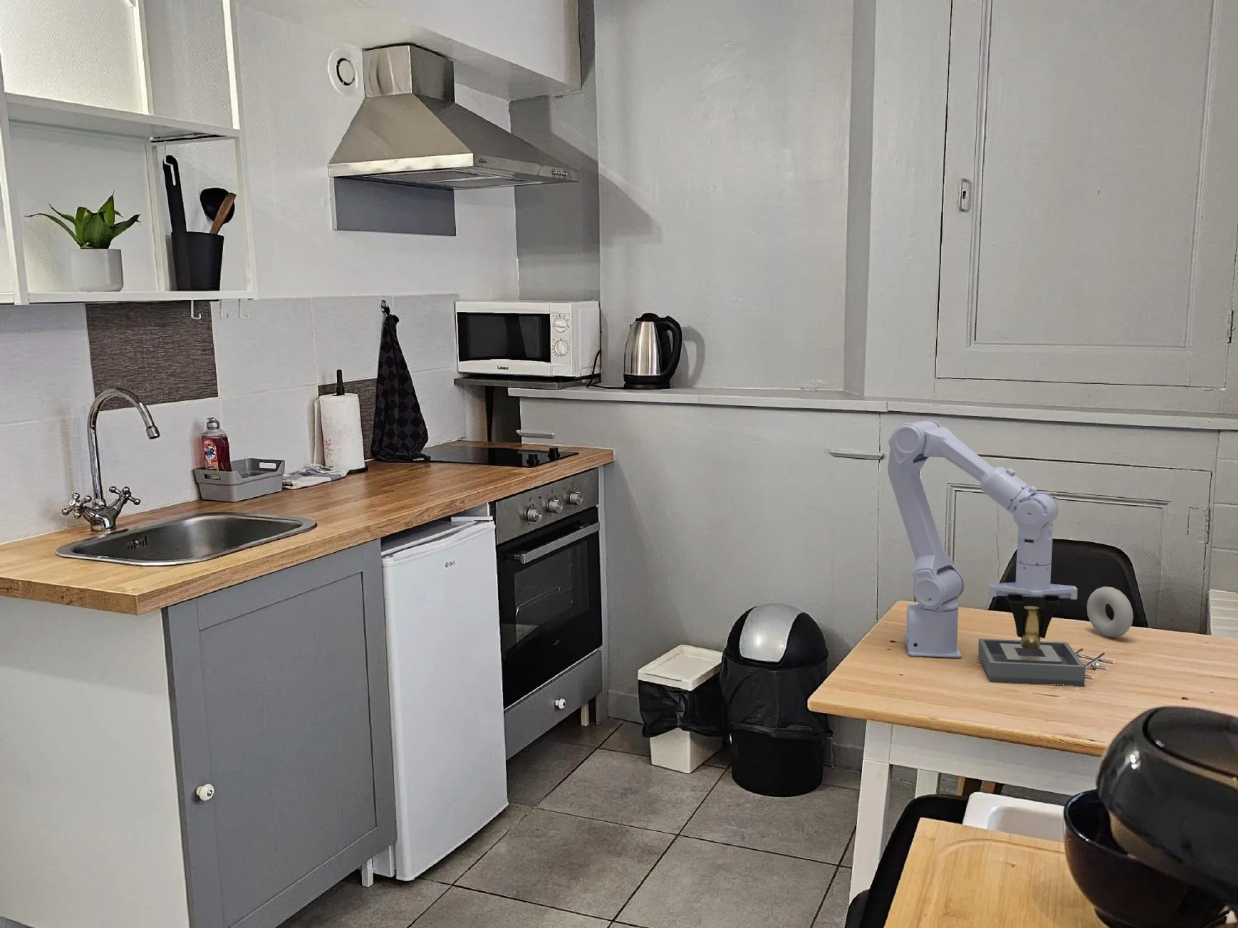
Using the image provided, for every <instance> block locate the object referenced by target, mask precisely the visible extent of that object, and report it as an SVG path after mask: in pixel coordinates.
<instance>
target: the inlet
mask: <svg viewBox="0 0 1238 928" xmlns="http://www.w3.org/2000/svg"><path fill="white" fill-rule="evenodd" d="M999 658H1000V660H1001V662H1019V663H1041V664H1062V661H1061V659H1060V658H1059V656H1058V655H1057V653H1056V652H1055V650H1054V649H1053V647H1052V646H1051V645H1040V648H1039V649H1026V648H1023V647H1021V644H1005V643H999Z"/></svg>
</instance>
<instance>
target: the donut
mask: <svg viewBox="0 0 1238 928" xmlns="http://www.w3.org/2000/svg"><path fill="white" fill-rule="evenodd" d="M1086 604H1087V605H1086V611H1087V617H1088V619H1089V620H1088V621H1089V622H1090V624H1091V625H1092V627H1093V628H1094V630H1095V631H1097V633H1100V634H1101V635H1102V636H1105V637H1108V638H1119V637H1121V636H1124V635H1125V634H1126V633H1127V632H1129V631H1130V629H1131V627H1132V625H1133V621H1134V620H1133V619H1134V612H1133V608H1132V604H1131V602H1130V600H1129V599H1128V597H1127V596H1126V595H1125V594H1124V593H1123V592H1122V591H1121V590H1119V589H1118V588H1117V589H1116V588H1115V587H1113V586H1112V587H1111V586H1102V587H1099V588H1096V589H1095V590H1094V591H1093V592H1092V593H1090V596H1089V597H1088V599H1087V602H1086ZM1107 605H1109V606H1110V607H1111V609H1112V610H1113V618H1112V619H1110V618H1109V617H1108V616H1107V613H1106V606H1107Z"/></svg>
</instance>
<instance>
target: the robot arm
mask: <svg viewBox="0 0 1238 928" xmlns="http://www.w3.org/2000/svg"><path fill="white" fill-rule="evenodd" d="M887 442H888V445H889V454H888V455H889V457H888V464H887V475H888V478H889V481H890V484H891V486H892V487H891V488H892V490H893V493H894V497H895V499H896V502H897V505H898V506H897V507H898V509H899V512H900V515H901V519H902V522H903V525H904V528H905V531H906V534H907V537H908V541H909V544H910V547H911V549H912V554H913V556H914V559H915V560H914V563H913V568H912V570H911V571H912V572H911V575H912V578H913V586H912V587H913V588H912V593H913V597H914V599H915V600H916V602H917V603H916V604H908V605H907V607H906V628H905V629H906V631H905V633H904V634H905V636H904V638H905V640H904V641H905V645H906V649H907V654H908V655H909V656H913V657H914V656H915V657H917V656H918V657H933V658H934V657H938V658H954V659H955V658H956V659H957V658H958V659H960V658H962V653H961V651H960V648H959V647H958V629H959V627H958V625H959V597H960V596H961V595H962V594H963V592H964V591H965V586H966V582H965V579H964V577H963V575H962V573H961V572H960V571H959V570H958V569H957V568H956V566H955V563H954V560H953V559H952V558H951V557H950V556H949V554H948V553H947V554H946V552H945V551H944V548H943V546H942V545H943V544H942V543H941V539H940V535H939V533H938V530H937V526H936V523H935V520H934V517H933V514H932V510H931V507H930V505H929V501H928V499H927V495H926V492H925V489H924V486H923V484H922V483H923V482H922V480H921V476H920V472H921V470H922V468H923V466H924V465H925V463H926V461H927V460H928V459H929V458H944V459H946V460H947V461H949V462H951V463H952V464H953V465H955V466H956V467H958V468H959V469H961V470H962V471H964V472H965V473H967V474H968V475H969V476H971V477H972V478H974V479H975V480H977V481H979V482H980V485H981V490H982V493H984V494H985V495H986V496H988V497H989V498H990V499H992V500H993V501H994V502H996V503H997V504H998V505H999V506H1001V507H1002V508H1003V509H1005V510H1007V512H1008V513H1010V514H1012V518H1013V519H1014V522H1015V524H1016V525H1017V526H1018V527H1017V530H1018V531H1017V541H1016V542H1017V546H1016V566H1015V567H1016V571H1015V581H1014V582H1001V583H1000V582H998V583H992V582H991V583H989V584H988V586H989V587H988V595H989V596H990V597H997V596H998V597H1000V596H1001V597H1005V598H1006V601H1007V603H1008V605H1009V607H1010V610H1011V612H1012V616H1013V620H1014V624H1015V629H1016V630H1015V632H1016V636H1017V637H1018V638H1021V637H1023V613H1024V606H1025V602H1024V598H1026V597H1027V598H1028V597H1029V598H1039V608H1041V609H1042V614H1041V636H1040V639H1046V636H1047V633H1048V632H1047V631H1048V629H1049V625H1050V623H1051V621H1052V619H1053V617H1054V615H1055V613H1056V612H1057V610H1058V609H1060V608H1059V607H1060V605H1061V604H1060V603H1061V601H1060V599H1070V600H1078V588H1077V587H1076V586H1075V585H1066V584H1065V585H1064V584H1057V583H1056V584H1054V583H1051V576H1052V575H1051V574H1052V559H1053V557H1052V556H1053V555H1052V553H1053V529H1054V527H1053V522H1054V521H1055V520H1056V518H1057V517H1058V515H1059V505H1058V503H1057V501H1056V499H1054V498H1053V496H1052V495H1051V494H1050V493H1049V492H1046V491H1045V492H1044V491H1038V488H1037V487H1035V486H1034V485H1032V486H1030V485H1029V484H1028V483H1026V482H1025V481H1023V480H1022V479H1020V478H1019V477H1018V476H1017V475H1016V473H1017V471H1015V470H1014V469H1013V468H1011V467H1009V468H1005V467H1004V466H996V467H993V466H992V465H991V464H989V463H988V462H987V461H985V460H984V459H983V458H982V457H981V456H980V455H978V454H977V453H976V452H974V450H972V449H971V448H970V447H968V446H967V445H966V444H965V443H964V442H963V441H961V440H960V439H959V438H958V437H956V436H955V435H954V434H953V433H952V431H951V430H950V429H948V428H947V427H945V426H942V424H940V423H939V422H938V421H936V420H934V419H930V418H928V419H927V418H926V419H922V420H920V421H914V422H908V423H902V424H900V425H898V427H897V428H895V430H894V431H893V433H892V434H891V436H890V438H889V439H888V440H887ZM1023 597H1024V598H1023Z"/></svg>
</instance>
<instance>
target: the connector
mask: <svg viewBox="0 0 1238 928" xmlns="http://www.w3.org/2000/svg"><path fill="white" fill-rule="evenodd" d="M1041 614H1042V609H1041V608H1040V606H1039V607H1038V606H1033V605H1026V606H1025V605H1024V613H1023V637H1020V640H1021V647H1023V648H1026V649H1039V648H1040V641H1041V637H1040V636H1041Z"/></svg>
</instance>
